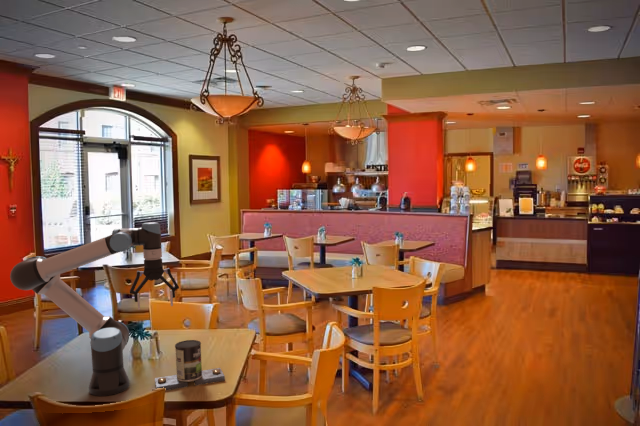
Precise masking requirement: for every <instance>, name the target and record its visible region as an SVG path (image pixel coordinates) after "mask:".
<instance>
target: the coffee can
mask: <svg viewBox="0 0 640 426" xmlns="http://www.w3.org/2000/svg"><path fill="white" fill-rule="evenodd" d="M201 344H202V343H201V341H200V340H197V339H196V340H195V339H187V340H182V341H179V342H176V344H174V348H175V364H176V375H177V380H179V381H182V382H188V383H189V382H194V381H195V380H198V379H200V378H201V377H202V371H203V369H202V350H201V349H202V345H201Z"/></svg>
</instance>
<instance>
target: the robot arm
mask: <svg viewBox="0 0 640 426" xmlns="http://www.w3.org/2000/svg"><path fill="white" fill-rule="evenodd" d="M111 232H112V233H111V234H110V235H107V236H105V237H102V238H99V239H96V240H93V241H91V242H88V243H85V244H84V245H83V244H82V245H80V246H78V247H73V248H72V249H69V250H67V251H63V252H61V253H59V254H55V255H53V256H50V257H45V256H39V255H37V256H30V257H28V258H26V259H24V260H22V261H20V262H18V263H17V264H15V265H14V266H13V268H11V270H10V275H9V278H10V281H11V284H12V285H13V286H14V287H15V288H16V289H18V290H21V291H30V290H32V291H33V292H34V293H36V295H39V296H40V295H43V296H45V297H46V298H47V299H49V300H50V302H53V303H54V304H55V305H56V307H58V308H60V309H61V310H62V311H63V312H64V313H65V314H67V315H68V316H69V317H70V318H71V319H73V320H74V321H75V322H77V324H79V325H80V326H81V327H82V328H84V329H85V330H86V331H87V332H88V333H89V334H88V335H89V339H90V341H89V343H90V349H91V350H90V351H91V364H92V366H91V367H92V374H91V377H90V381H89V384H88V393H89V394H90V395H92V396H95V397H98V396H99V397H104V396H105V397H106V396H114V395H115V394H120V393H122V392H124V391H125V390H127V389H128V388H130V380H129V376H128V375H127V372H126V369H125V367H124V354H123V353H124V352H123V351H124V349H125V348H126V347H127V344H128V343H129V339H130V330H129V328H128V325H126V324H125V323H123V322H122V321H117V320H115V319H114V318H113V317H111V316H110V315H108V316H105V315H103V314H102V313H101V312H100V311H98V309H96V308H95V307H94V306H93V305H92V304H91V303H90V302H89V301H87V300H86V299H85V298H84V297H83V296H81V295H80V294H79V293H77V292H76V291H75V290H74V289H73V288H72V287H71V286H69V284H67V283H66V282H65V281H63V279H61V275H62V274H65V273H67V272H70V271H73V270H74V269H77V268H80V267H82V266H86V265H88V264H91V263H94V262H96V261H99V260H101V259H105V258H107V257H109V256H112V255H115V254H119V253H123V252H125V251H127V250H129V249H130V247H135V246H142V250H143V253H142V254H143V271H142V270H141V271H140V270H137V271H136V275H135V278H134V280H133V283H132V285H131V287H130V289H129V294H130V295H131V294H132V295H134V297H133V298H134V302H135V303H137V310H138V311H140V310H141V305H140V304H141V303H140V302H141V301H140V293H139V292H140V291H141V290H142V289H143V287H144V286H145V285H146V283H147V282H148V281H158V280H161V281H162V282H163V283H164V284H165V285H166V286H167V287H168V288H169V289H170V290H169V297H170V299H169V300H170V306H171V307H173V306H174V301H173V299H175V298H176V291H177V290H178V289H180V287H179V284H178V283H177V281H176V280H175V278H174V276H173V275H172V273H171V269H170V267H167V268H163V258H162V257H163V251H162V231H161V224H160V223H159V222H157V221H156V222H154V221H152V222H151V221H149V222H143V223H142V224H141V227H135V228H134V227H133V228H132V227H131V228H115V229H113V230H112V231H111ZM164 273H165V274H166V275H168V277H169V278H170V280H171V282H172V284H173V285H174V286H173V285H172V284H171V283H170V282H169V281H168V280H167V279H166V278H165V277H164V276H163V274H164ZM142 275H143V276H144V278H143V280H141V283H139V285H138V282H139V280H140V277H142ZM137 285H138V287H137V288H136V286H137Z"/></svg>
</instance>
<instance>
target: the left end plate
mask: <svg viewBox="0 0 640 426" xmlns="http://www.w3.org/2000/svg"><path fill="white" fill-rule="evenodd" d="M188 383H189V382H182V381H179V380H177V374H173V375H166V376H161V377H155V378H154V385H155V389H156V388H163V387H164V388H166V391H173V390H177V389H184V388H188V387H189V384H188Z"/></svg>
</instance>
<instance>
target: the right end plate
mask: <svg viewBox="0 0 640 426" xmlns="http://www.w3.org/2000/svg"><path fill="white" fill-rule="evenodd" d="M225 376H226V375H224V372H223V371H222V368H221V367H217V368H216V367H215V368H211V369H210V368H209V369H205V370H204V369H202V377H201V378H200V379H198V380H195V381H193V382H194V386H200V385H201V386H202V385H207V383H208V384H213V382H214V383H218V382H225V380H226V378H225Z"/></svg>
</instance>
